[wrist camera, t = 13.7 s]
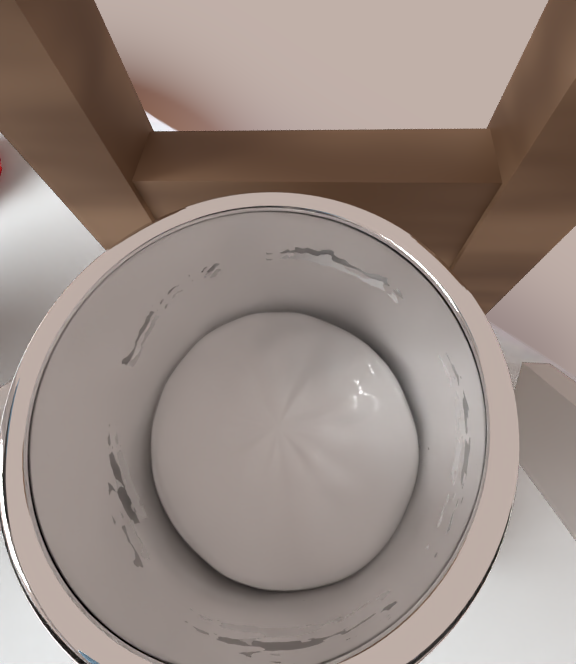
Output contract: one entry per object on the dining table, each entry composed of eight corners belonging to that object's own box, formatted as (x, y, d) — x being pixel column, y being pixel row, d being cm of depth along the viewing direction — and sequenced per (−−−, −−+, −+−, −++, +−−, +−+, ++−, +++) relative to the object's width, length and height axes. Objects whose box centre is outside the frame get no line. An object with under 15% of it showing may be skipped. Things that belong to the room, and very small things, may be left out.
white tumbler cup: (302, 570, 16) (229, 1071, 2) (206, 461, 18) (-110, 393, 5) (392, 455, 18) (654, 361, 4) (295, 369, 20) (254, 125, 6)
